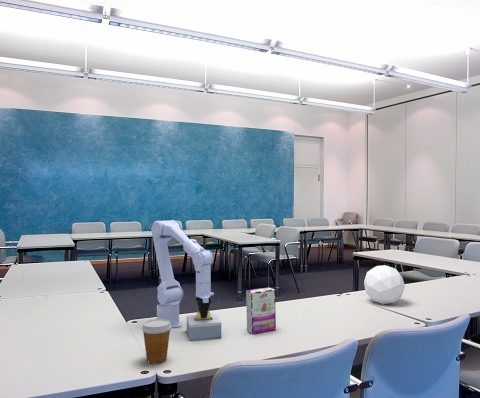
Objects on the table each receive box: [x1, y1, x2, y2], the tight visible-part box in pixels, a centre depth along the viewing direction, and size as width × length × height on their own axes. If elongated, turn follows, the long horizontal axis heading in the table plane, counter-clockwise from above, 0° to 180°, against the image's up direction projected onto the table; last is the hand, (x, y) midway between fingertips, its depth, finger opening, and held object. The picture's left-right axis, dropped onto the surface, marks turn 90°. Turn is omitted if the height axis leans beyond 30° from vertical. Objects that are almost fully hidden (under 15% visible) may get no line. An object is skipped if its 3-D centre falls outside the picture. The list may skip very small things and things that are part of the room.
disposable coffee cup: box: [141, 318, 173, 364], centre depth 125 cm, size 10×10×12 cm
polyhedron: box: [363, 264, 406, 305], centre depth 196 cm, size 19×20×20 cm
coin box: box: [186, 313, 222, 342], centre depth 149 cm, size 12×12×6 cm
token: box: [196, 310, 211, 321], centre depth 150 cm, size 5×2×5 cm, turn 103°
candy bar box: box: [245, 287, 277, 335], centre depth 154 cm, size 11×5×16 cm, turn 117°
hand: (203, 317), depth 150 cm, fingers closed on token, 2 cm apart
